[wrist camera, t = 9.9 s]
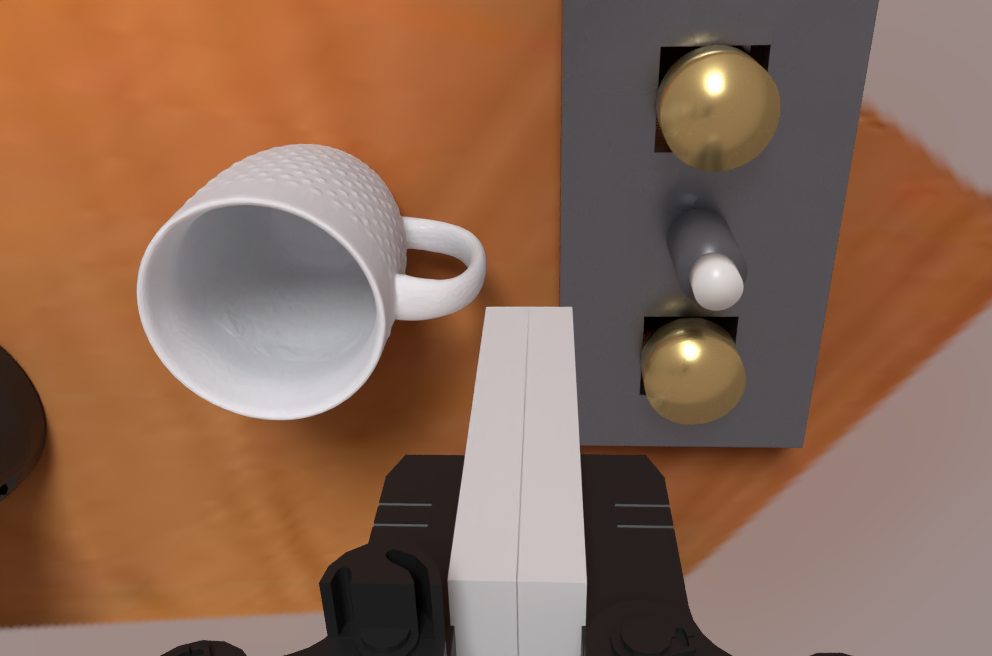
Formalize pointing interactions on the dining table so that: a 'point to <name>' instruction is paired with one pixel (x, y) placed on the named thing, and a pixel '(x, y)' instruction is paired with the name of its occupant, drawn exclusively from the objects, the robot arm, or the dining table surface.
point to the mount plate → (703, 205)
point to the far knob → (692, 370)
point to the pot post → (707, 259)
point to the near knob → (717, 108)
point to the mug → (291, 281)
